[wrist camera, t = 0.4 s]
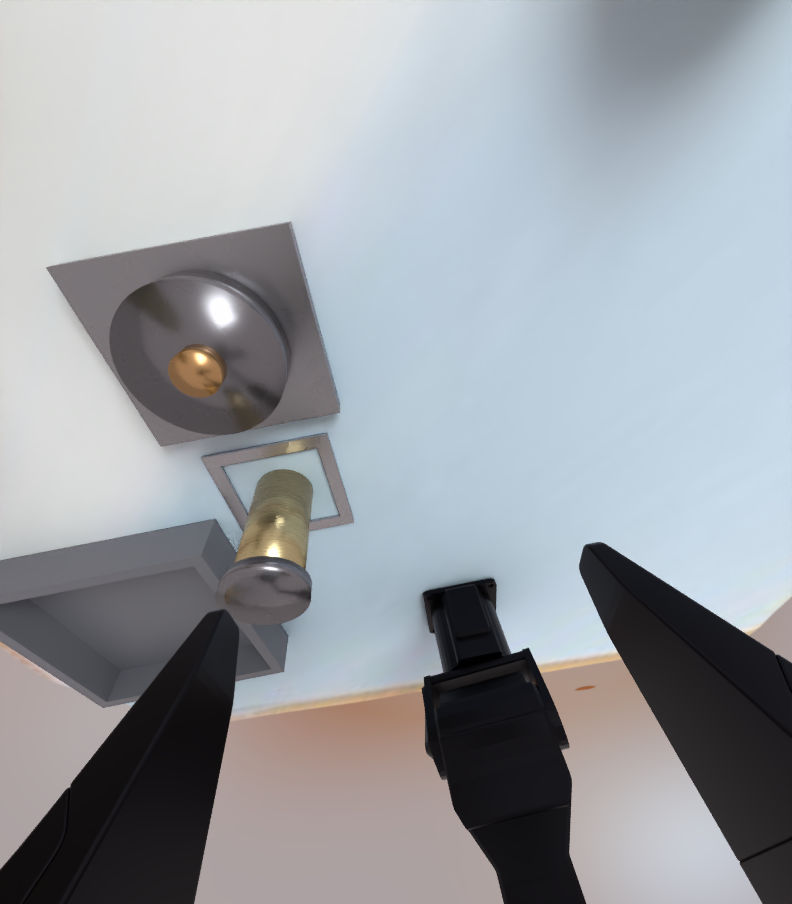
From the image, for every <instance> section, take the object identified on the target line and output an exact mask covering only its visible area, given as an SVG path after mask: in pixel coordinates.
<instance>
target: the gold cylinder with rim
mask: <svg viewBox="0 0 792 904" xmlns="http://www.w3.org/2000/svg"><path fill="white" fill-rule="evenodd" d="M312 498H313V488H312V485H311V483H310V481H309V480H308V479H307V478H306V477H305V476H303V475H302V474H300V473H298V472H295V471H292V470H285V469H282V470H274V471H271V472H269V473H267V474H265V475H264V476H263V477H261V479H260V480H259V482H258V484H257V487H256V490H255V494H254V497H253V501H252V504H251V507H250V511H249V514H248V517H247V521H246V524H245V528H244V531H243V534H242V538H241V541H240V544H239V548H238V551H237V555H236V558H235V561H234V563H233V564H232V565H230V566H229V567H228V568H226V570H225V571H224V572H223V573H222V575H221V578H220V581H219V584H218V587H217V590H216V594H215V601H216V604H217V606H218V607H219V609H226V610H227V611H228V612H229V613H230V615H231V616H232V618H233V619H235V620H237V621H240V622H244V623H248V624H254V625H274V624H280V623H284V622H287V621H290V620H292V619H295V618H297V617H298V616H300V615H301V614H303V613H304V612H305V611H306V609H307V608H308V606H309V605H310V601H311V590H312V580H311V577H310V575H309V574H308V572H307V571H306V570H305V569H306V559H307V549H308V539H309V528H310V518H311V508H312Z"/></svg>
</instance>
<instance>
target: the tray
mask: <svg viewBox="0 0 792 904" xmlns="http://www.w3.org/2000/svg"><path fill="white" fill-rule="evenodd" d="M236 555H237V553H236V552H235V550H234V548H233V547H232V545H231V544H230V542H229V540H228V539H227V537H226V535H225V534H224V532H223V531H222V529H221V527H220V526H219V524H218V523H217V521H216V519H213V520H208V521H203V522H197V523H192V524H187V525H182V526H177V527H172V528H167V529H161V530H156V531H151V532H146V533H141V534H136V535H130V536H125V537H120V538H115V539H110V540H105V541H99V542H94V543H89V544H84V545H79V546H74V547H69V548H63V549H58V550H53V551H48V552H43V553H38V554H32V555H27V556H22V557H17V558H12V559H7V560H1V561H0V641H1V642H2V643H4V644H5V645H7V646H8V647H10V648H11V649H13V650H15V651H16V652H18V653H19V654H21V655H22V656H24V657H25V658H27V659H28V660H30V661H31V662H33V663H35V664H36V665H38V666H39V667H41V668H42V669H44V670H45V671H47V672H48V673H50V674H52V675H53V676H55V677H56V678H58V679H59V680H61V681H62V682H64V683H65V684H67V685H69V686H70V687H72V688H73V689H75V690H76V691H78V692H79V693H81V694H82V695H84V696H86V697H87V698H89V699H90V700H92V701H93V702H95V703H96V704H98V705H99V706H101V707H103V708H105V707H110V706H115V705H120V704H125V703H130V702H135V701H137V700H138V699H139V697H140V696H141V695H142V694H143V692H144V691H145V690H146V689H147V687H148V686H149V685H150V684H151V682H152V681H153V680H154V679H155V677H156V676H157V675H158V674H159V672H160V671H161V670H162V669H163V667H164V666H165V665H166V664H167V662H168V661H169V660H170V658H171V657H172V656H173V655H174V653H175V652H176V651H177V650H178V648H179V647H180V646H181V645H182V643H183V642H184V641H185V640H186V638H187V637H188V636H189V635H190V633H191V632H192V631H193V630H194V628H195V627H196V626H197V625H198V623H199V622H200V621H201V620H202V618H203V617H204V616H205V615H206V614H207V613H208V612H210V611H215V610H220V609H219V607H218V606H217V604H216V601H215V594H216V590H217V587H218V584H219V581H220V578H221V575H222V573H223V572H224V571H225V570H226V568H228V567H229V566H230V565H232V564H233V563H234V561H235V558H236ZM234 621H235V622H236V624H237V625H238V628H239V633H240V636H239V648H238V658H237V669H236V680H235V681H240V680H245V679H250V678H255V677H260V676H265V675H270V674H275V673H280V672H284V667H285V659H286V651H287V643H288V635H287V633H286V632H285V630H284V629H283V627H282V625H281V624H274V625H254V624H248V623H244V622H240V621H237V620H235V619H234Z"/></svg>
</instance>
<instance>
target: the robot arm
mask: <svg viewBox="0 0 792 904" xmlns="http://www.w3.org/2000/svg"><path fill="white" fill-rule="evenodd" d="M579 569H580V573H581V576H582V578H583V580H584V583H585V585H586V587H587V589H588V591H589V594H590V596H591V598H592V600H593V603H594V605H595V607H596V609H597V611H598V614H599V616H600V618H601V620H602V623H603V625H604V627H605V629H606V631H607V633H608V635H609V637H610V639H611V640H612V642H613V644H614V646H615V647H616V649H617V651H618V653H619V654H620V656H621V658H622V660H623V661H624V663H625V665H626V667H627V668H628V670H629V672H630V674H631V675H632V677H633V678H634V680H635V682H636V684H637V685H638V687H639V689H640V691H641V693H642V694H643V696H644V698H645V700H646V701H647V703H648V705H649V707H650V708H651V710H652V712H653V713H654V715H655V717H656V718H657V720H658V722H659V724H660V726H661V727H662V729H663V731H664V733H665V734H666V736H667V738H668V739H669V741H670V743H671V745H672V746H673V748H674V750H675V752H676V753H677V755H678V757H679V759H680V760H681V762H682V764H683V765H684V767H685V769H686V771H687V773H688V774H689V776H690V778H691V779H692V781H693V783H694V785H695V786H696V788H697V790H698V792H699V793H700V795H701V797H702V799H703V800H704V802H705V804H706V806H707V807H708V809H709V811H710V812H711V814H712V816H713V818H714V819H715V821H716V822H717V824H718V826H719V828H720V829H721V832H722V833H723V835H724V837H725V838H726V840H727V842H728V844H729V845H730V847H731V849H732V851H733V852H734V854H735V856H736V858H737V859H738V860H739V861H740V865H741V867H742V869H743V870H744V872H745V874H746V875H747V877H748V879H749V881H750V882H751V884H752V886H753V888H754V889H755V891H756V893H757V895H758V896H759V898H760V900H761V902H762V903H763V904H792V663H791V662H789V661H788V660H786V659H785V658H783V657H781V656H780V655H775V653H774V652H773V651H772V650H770V649H769V648H767V647H766V646H764V645H763V644H761V643H759V642H758V641H756V640H755V639H753V638H752V637H750V636H749V635H747V634H745V633H744V632H742V631H741V630H739V629H738V628H736V627H734V626H733V625H731V624H730V623H728V622H727V621H725V620H723V619H722V618H720V617H719V616H717V615H716V614H714V613H713V612H711V611H709V610H708V609H706V608H705V607H703V606H702V605H700V604H698V603H697V602H695V601H694V600H692V599H691V598H689V597H688V596H686V595H684V594H683V593H681V592H680V591H678V590H677V589H675V588H673V587H672V586H670V585H669V584H667V583H666V582H664V581H663V580H661V579H659V578H658V577H656V576H655V575H653V574H652V573H650V572H648V571H647V570H645V569H644V568H642V567H641V566H639V565H637V564H636V563H634V562H633V561H631V560H630V559H628V558H627V557H625V556H623V555H622V554H620V553H619V552H617V551H616V550H614V549H612V548H611V547H609V546H608V545H606V544H604V543H602V542H596V543H591V544H586V545H585V546H584V548H583V551H582V555H581V559H580V564H579ZM423 597H424V603H425V609H426V614H427V620H428V625H429V630H430V633H435V635H436V640H437V645H438V649H439V654H440V659H441V663H442V668H443V673H441V674H438V675H434V676H430V675H429V676H426V677H424V685H425V686H424V687H423V688H422V694H423V700H424V707H425V748H426V752H427V754H428V755H429V756H430V757H431V758H432V759H434V762H435V765H436V767H437V769H438V772H439V775H440V777H441V779H442V780H446V779H447V780H448V786H449V790H450V795H451V799H452V804H453V807H454V810H455V812H456V813H457V815H458V816H459V818H460V820H461V822H462V823H463V825H464V826H465V828H466V829H467V830H469V832H470V833H471V835H472V836H473V838H474V839H475V841H476V842H477V844H478V845H479V846H480V848H481V850H482V851H483V852H484V854H485V855H486V857H487V858H488V860H489V861H490V863H491V864H492V866H493V867H494V869H495V871H496V873H497V876H498V880H499V884H500V889H501V893H502V897H503V901H504V904H586V902H585V899H584V896H583V893H582V890H581V887H580V884H579V881H578V878H577V875H576V873H575V870H574V867H573V864H572V861H571V858H570V855H569V843H570V817H571V792H572V779H571V775H570V772H569V770H568V767H567V764H566V762H565V759H564V756H563V754H562V751H561V750H563V749H567V748H569V743H568V739H567V736H566V734H565V730H564V728H563V725H562V722H561V719H560V717H559V715H558V712H557V709H556V707H555V705H554V702H553V700H552V698H551V695H550V693H549V691H548V689H547V687H546V684H545V683H544V680H543V678H542V676H541V673H540V671H539V669H538V667H537V665H536V663H535V660H534V658H533V656H532V654H531V652H530V649H529V648H526V649H523V650H522V651H520V652H517V653H513V654H511V652H510V649H509V646H508V644H507V641H506V638H505V636H504V633H503V630H502V628H501V625H500V622H499V619H498V617H497V614H496V582H495V580H494V579H492V578H490V579H485V580H480V581H475V582H470V583H465V584H459V585H454V586H449V587H444V588H439V589H434V590H429V591H426V592H424V593H423ZM239 636H240V633H239V628H238V625H237V624H236V622H235V621H234V619H233V618H232V616H231V615H230V613H229V612H228V611H227V610H226V609H220V610H215V611H210V612H208V613H207V614H206V615H205V616H204V617H203V618H202V620H201V621H200V622H199V623H198V625H197V626H196V627H195V628H194V630H193V631H192V632H191V633H190V635H189V636H188V637H187V638H186V640H185V641H184V642H183V643H182V645H181V646H180V647H179V648H178V650H177V651H176V652H175V653H174V655H173V656H172V657H171V658H170V660H169V661H168V662H167V664H166V665H165V666H164V667H163V669H162V670H161V671H160V672H159V674H158V675H157V676H156V677H155V679H154V680H153V681H152V682H151V684H150V685H149V686H148V687H147V689H146V690H145V691H144V692H143V694H142V695H141V696H140V697H139V699H138V700H137V701H136V702H135V704H134V705H133V706H132V707H131V709H130V710H129V711H128V713H127V714H126V715H125V716H124V718H123V719H122V720H121V721H120V723H119V724H118V725H117V727H116V728H115V729H114V730H113V732H112V733H111V734H110V735H109V736H108V738H107V739H106V740H105V741H104V743H103V744H102V745H101V746H100V748H99V749H98V750H97V751H96V753H95V754H94V755H93V757H92V758H91V759H90V760H89V762H88V763H87V764H86V765H85V767H84V768H83V769H82V770H81V772H80V773H79V774H78V775H77V777H76V778H75V779H74V780H73V782H72V783H71V787H70V788H67V789H66V790H65V791H64V793H63V794H62V795H61V797H60V798H59V799H58V800H57V801H56V803H55V804H54V805H53V806H52V808H51V809H50V810H49V812H48V813H47V814H46V815H45V816H44V818H43V819H42V820H41V822H40V823H39V824H38V825H37V826H36V827H35V829H34V830H33V831H32V832H31V834H30V835H29V836H28V837H27V839H26V840H25V841H24V842H23V843H22V845H21V846H20V847H19V848H18V849H17V851H16V852H15V853H14V854H13V855H12V856H11V858H10V859H9V860H8V861H7V862H6V863H5V865H4V866H3V867H2V868H1V869H0V904H194V901H195V896H196V891H197V885H198V881H199V876H200V870H201V865H202V860H203V855H204V850H205V845H206V840H207V835H208V829H209V824H210V819H211V814H212V808H213V804H214V799H215V794H216V789H217V784H218V778H219V773H220V768H221V763H222V758H223V753H224V747H225V742H226V737H227V732H228V727H229V722H230V717H231V712H232V706H233V699H234V691H235V680H236V669H237V658H238V648H239Z"/></svg>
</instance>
